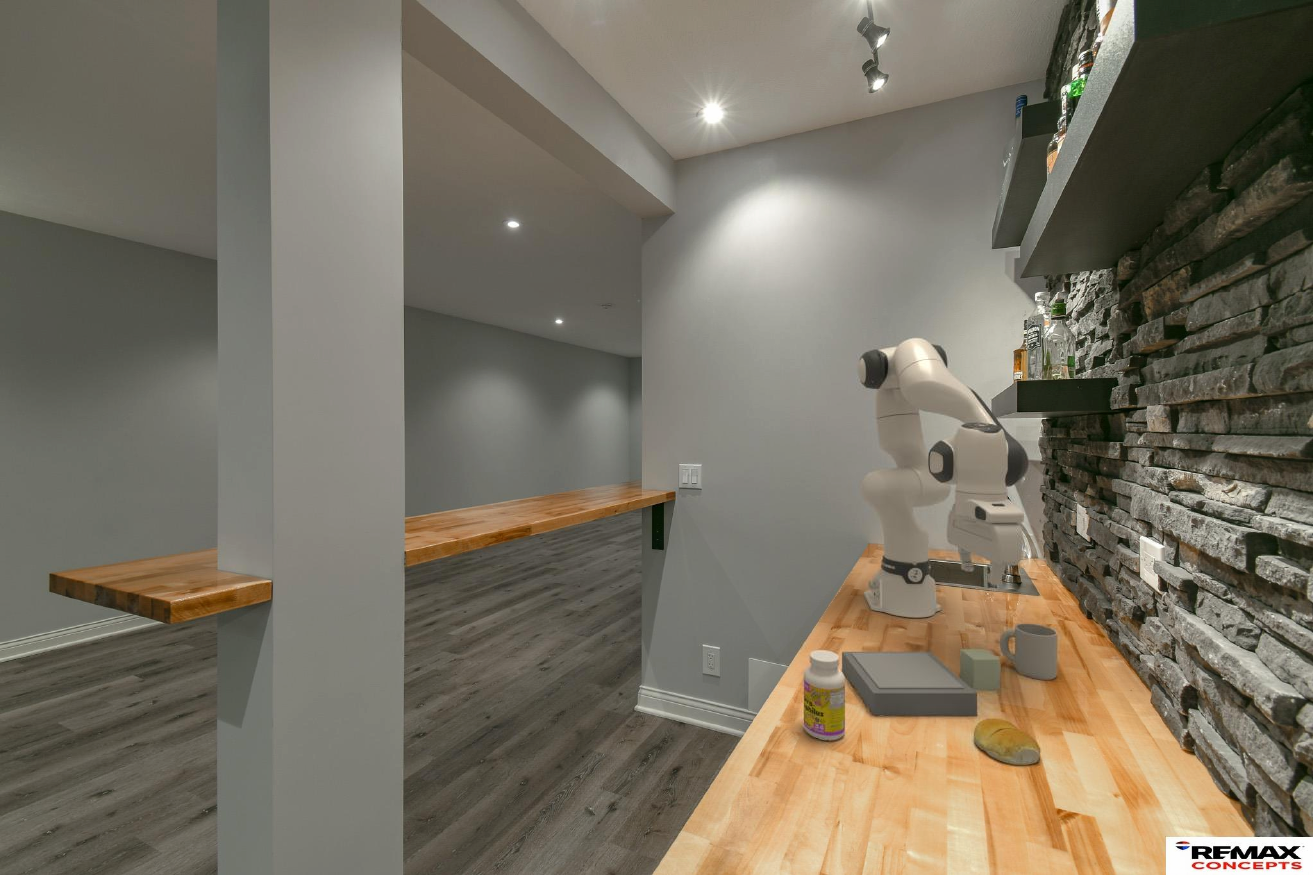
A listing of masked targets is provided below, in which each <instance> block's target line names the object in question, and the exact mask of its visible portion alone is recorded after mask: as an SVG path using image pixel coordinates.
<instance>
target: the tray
mask: <svg viewBox="0 0 1313 875" xmlns="http://www.w3.org/2000/svg"><path fill="white" fill-rule="evenodd" d="M841 672H842V673H843V672H844V673H843V674H844V676H845V678H846V679H847V678H848V679H847V680H848V681H849V683H850V682H851V683H850V684H851V686H852V685H853V686H854V687H853V686H852V687H853V688H855V689H854V690H855V691H856V693H857V692H858V693H857V694H858V696H859V695H860V696H859V697H860V699H861V700H862V701H863V703H864V704H865V705H866V707H867V709H868V710H869V711H870V713H871V714H872V716H875V717H878V716H879V717H881V716H880V715H884V716H883V717H887V716H889V717H893V716H895V717H899V716H900V717H903V716H904V717H909V716H910V717H916V716H917V717H919V716H920V717H922V716H923V717H927V716H928V717H940V716H941V717H942V716H943V717H945V716H946V717H949V716H950V717H951V716H952V717H958V716H959V717H960V716H961V717H973V716H974V717H975V716H976V717H977V716H978V692H976V690H973V689H972V688H971V687H970V686H968V685H967V684H966V683H965V682H964V681H963V680H962V679H960V676H958V675H957V674H956V673H955V672H954V671H952V670H951V668H949V667H948V666H947V665H946V664H944V663H943V662H942V661H941V660H940V659H939V658H938V657H937V656H936V655H934V654H933V653H932V652H931V651H841Z"/></svg>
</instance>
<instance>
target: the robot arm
mask: <svg viewBox="0 0 1313 875" xmlns="http://www.w3.org/2000/svg"><path fill="white" fill-rule="evenodd" d="M946 353H947V352H946V351H945V350H944V348H943V347H942V346H941V345H938V344H932V343H930V342H929V341H928V340H926V339H924V338H920V337H912V338H908V339H906V340H904V341H903V342H901V343H899V344H898V345H897V346H892V347H886V348H882V349H876V348H875V349H871V350H868V351H866V352H864V353H863V354H862V355H861V357H860V358H859V361H858V365H857V373H858V377H859V379H860V383H861V384H862V385H863V386H864V388H867V389H871V390H876V392H875V393H876V395H875V396H876V397H875V418H876V425H877V426H876V427H877V435H878V442H879V446H880V448H881V449H882V451H884V452H885V453H886V454H888V455H890V456H891V457H892V459H893V460H894V462H895V465H896V467H883V468H881V469H880V468H879V469H877V470H873V471H870V472H868V473H866V475H865V476H864V477H863V480H862V482H861V489H860V490H861V495H862V496H863V499H864V501H865V502H866V503H867V504H868V505H869V506H870V507H871V508H872V509H873V510H874V511H875V512H876V514H877V515H878V517H879V520H880V522H881V526H882V532H883V549H884V551H883V552H884V555H882V560H881V566H880V568H881V569H880V570H879V571H877V573H876V574H874V575H873V576H872V580H869V581H868V588H869V589H868V590H864V592H863V596H864V598H865V600H866V602H867V604H868V606H869V608H870V610H872V611H876V612H881V613H882V612H883V613H886V614H888V615H893V616H898V617H904V618H914V619H915V618H927V617H932V616H934V615H935V614H936V612H940V611H942V606H941V604H939V603H937V593H936V592H937V591H936V581H935V579H934V578H933V577H932V576H931V575H930V574H931V569H932V568H931V560H930V559H929V532H928V530H927V528H926V527H925V526H924V525H923V524H921V523H919V522H918V521H917V520H916V517H915V515H914V508H921V507H931V506H934V505H937V504H940V503H942V502H944V501H946V500H947V499H948V498H949V496H950V494H951V490H952V489H951V488H952V485H956V487H955V489H954V494H955V495H954V500H955V501H954V503H953V504H952V506H951V507H952V508H951V509H950V511H949V513H948V515H947V516H948V517H947V525H946V540H947V542H948V543H949V544H950V545H952V546H955V547H957V553H958V556H959V559H960V561H961V562H960V563H961V564H960V565H961V566H960V569H961V570H963V571H965V572H967V573H968V572H973V571H974V570H975V568H974V567H975V566H974V565H975V563H974V562H973V561H972V557H971V556H972V555H971V554H973V555H976V556H977V557H980V558H983V559H985V560H987V561H989V566H990V567H991V570H990V572H989V573H987V579H986V580H987V582H988V583H989V584H991V585H993V586H1001V584H1002V576H1003V574H1004V572H1005V570H1006V568H1007V566H1018V565H1019V564H1020V563H1021V561H1022V559H1023V558H1022V557H1023V530H1022V529H1023V528H1022V527H1021V525H1020V523H1021V524H1022V523H1023V522H1024V521H1025V520H1024V519H1025V514H1024V512H1023V510H1022V509H1020V507H1018V506H1016V505H1015V503H1013V502H1012V501H1011V499H1008V487H1009V488H1010V487H1013V486H1014V485H1015V484H1017V483H1018V482H1020V480H1021V479H1022V478H1024V476H1025V475H1026V473H1027V471H1028V470H1029V456H1028V453H1027V451H1026V450H1025V448H1024V447H1023V445H1021V443H1020V442H1019V441H1018V440H1016V439H1015V438H1014V437H1013V436H1012V435H1011V434H1009V433H1008V431H1007V430H1006V429H1005V428H1004V426H1003V425H1002V423H1001V422H1000V420H998V418H997V417H996V416H995V415H994V413H993V412H992V411H991V409H990V407H988V405H987V404H986V402H985V401H984V400H983V399H982V397H981V396H979V394H978V393H977V392H976V391H975V390H974V389H972V388H970V387H969V386H968V385H965V384H964V383H962V382H961V381H960V380H959V379H958V378H956V377H955V376H954V375H953V374H952V373H951V372H950V371H949V369H948V356H947V354H946ZM920 411H922V412H926V413H931V414H932V413H933V414H937V415H942V416H945V417H949V418H950V417H951V418H953V419H956V420H958V421H960V422H961V423H963V424H961V425H959V427H958V428H957V431H956V433H955V434H954V435H952V436H949V437H948V438H945V439H943V440H939V441H937V442H936V443H935V444H933V446H932V447H931V449H930V450H928V449H927V447H926V443H925V440H924V436H923V431H922V430H923V429H922V423H921V415H920Z"/></svg>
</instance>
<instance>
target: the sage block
mask: <svg viewBox="0 0 1313 875" xmlns="http://www.w3.org/2000/svg"><path fill="white" fill-rule="evenodd" d="M959 652H960V655H959V656H960V657H959V658H960V659H959V660H960V662H959V664H960V665H959V666H960V667H959V668H960V670H959V671H960V673H959V674H960V675H959V678H960V679H962V680H963V681H964V682H965V683H966V684H967V685H968V686H970V687H971V688H972V689H973V690H974V691H1001V659H1000V658H999V657H997V655H995V654H993V653H992V652H991V651H990V650H988V649H986V648H983V649H982V648H969V649H968V648H962V649H960V651H959Z"/></svg>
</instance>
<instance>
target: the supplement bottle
mask: <svg viewBox="0 0 1313 875" xmlns="http://www.w3.org/2000/svg"><path fill="white" fill-rule="evenodd" d="M809 663H810V665H808V667H806V668H805V670H804V672H803V728H804V730H805V732H806V733H807V734H809V735H810V736H811V737H813V738H815V739H817V738H818V740H821V741H827V740H828V741H827V742H829V741H837V740H839V739H841V738H842V737H843V736H844V734H845V732H846V676H845V674H844V673H843V671H842V670H841V669H839V668H838V667H839V666H840V656H839V655H838V654H837V653H836V652H833V651H830V650H825V649H818V650H813V651H811V652H810V654H809Z"/></svg>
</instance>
